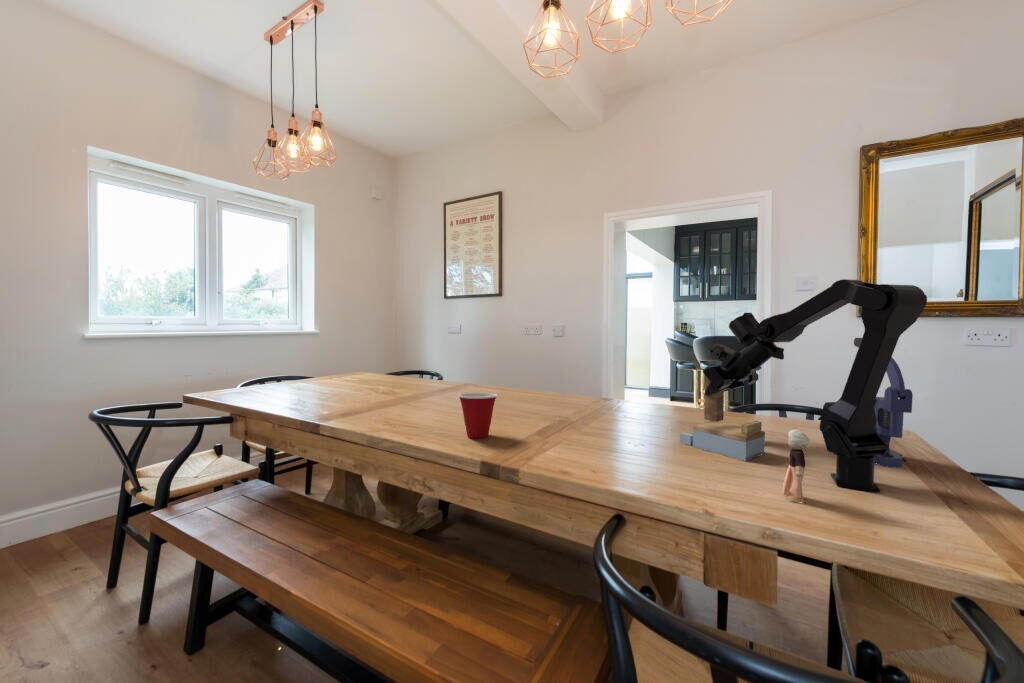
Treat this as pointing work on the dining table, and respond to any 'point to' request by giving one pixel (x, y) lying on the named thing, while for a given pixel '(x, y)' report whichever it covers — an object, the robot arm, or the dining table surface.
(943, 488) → the dining table surface
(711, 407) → the brown wooden block
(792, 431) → the grandmother figurine
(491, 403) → the plastic cup
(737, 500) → the dining table surface
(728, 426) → the lid
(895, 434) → the hand press
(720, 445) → the grey storage box
